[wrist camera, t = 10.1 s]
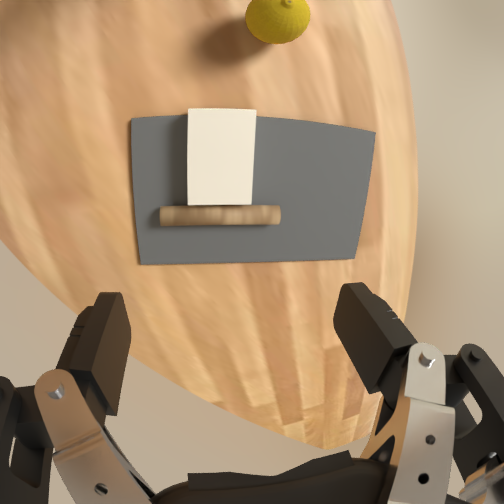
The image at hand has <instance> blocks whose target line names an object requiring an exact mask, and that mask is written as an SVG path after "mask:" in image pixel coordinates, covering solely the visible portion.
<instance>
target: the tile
mask: <svg viewBox="0 0 504 504" xmlns="http://www.w3.org/2000/svg"><path fill="white" fill-rule="evenodd" d="M255 128H256V110H249V109H218V108H200V109H188V145H187V185H188V205H251V203H252V184H253V165H254V147H255Z"/></svg>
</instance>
